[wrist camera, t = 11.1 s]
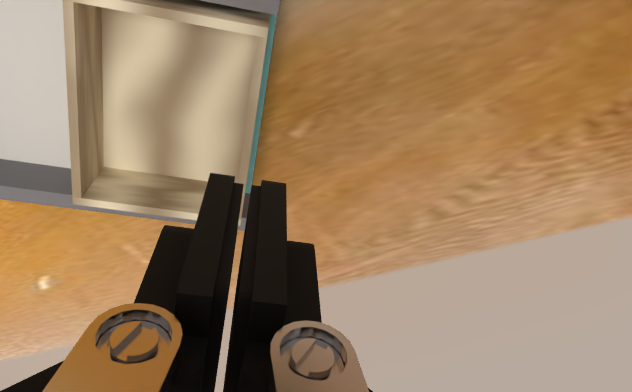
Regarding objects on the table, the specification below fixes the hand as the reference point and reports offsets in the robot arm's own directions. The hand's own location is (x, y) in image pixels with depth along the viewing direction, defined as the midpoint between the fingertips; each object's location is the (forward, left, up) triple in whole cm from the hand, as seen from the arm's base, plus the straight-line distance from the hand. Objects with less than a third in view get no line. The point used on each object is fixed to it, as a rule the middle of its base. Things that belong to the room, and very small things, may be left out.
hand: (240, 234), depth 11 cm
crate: (+6, +7, -28) cm, 29 cm away
